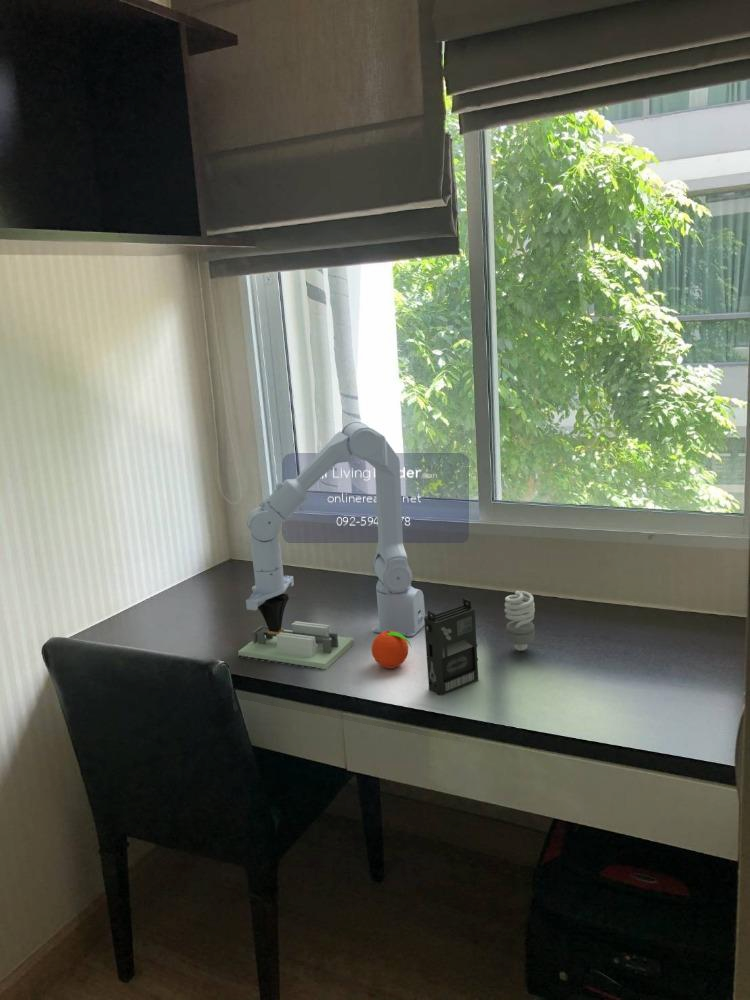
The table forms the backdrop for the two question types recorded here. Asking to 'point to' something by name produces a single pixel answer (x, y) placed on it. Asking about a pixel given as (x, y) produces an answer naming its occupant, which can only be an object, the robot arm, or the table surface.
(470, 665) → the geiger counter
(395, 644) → the clementine
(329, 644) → the heatsink board
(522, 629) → the light bulb
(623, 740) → the table surface
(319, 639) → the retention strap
